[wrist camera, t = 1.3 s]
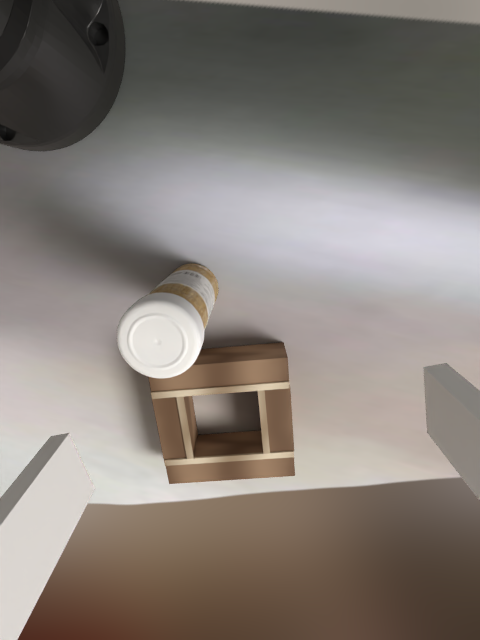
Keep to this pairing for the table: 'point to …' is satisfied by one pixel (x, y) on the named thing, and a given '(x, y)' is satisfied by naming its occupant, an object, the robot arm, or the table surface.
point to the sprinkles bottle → (169, 323)
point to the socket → (237, 447)
